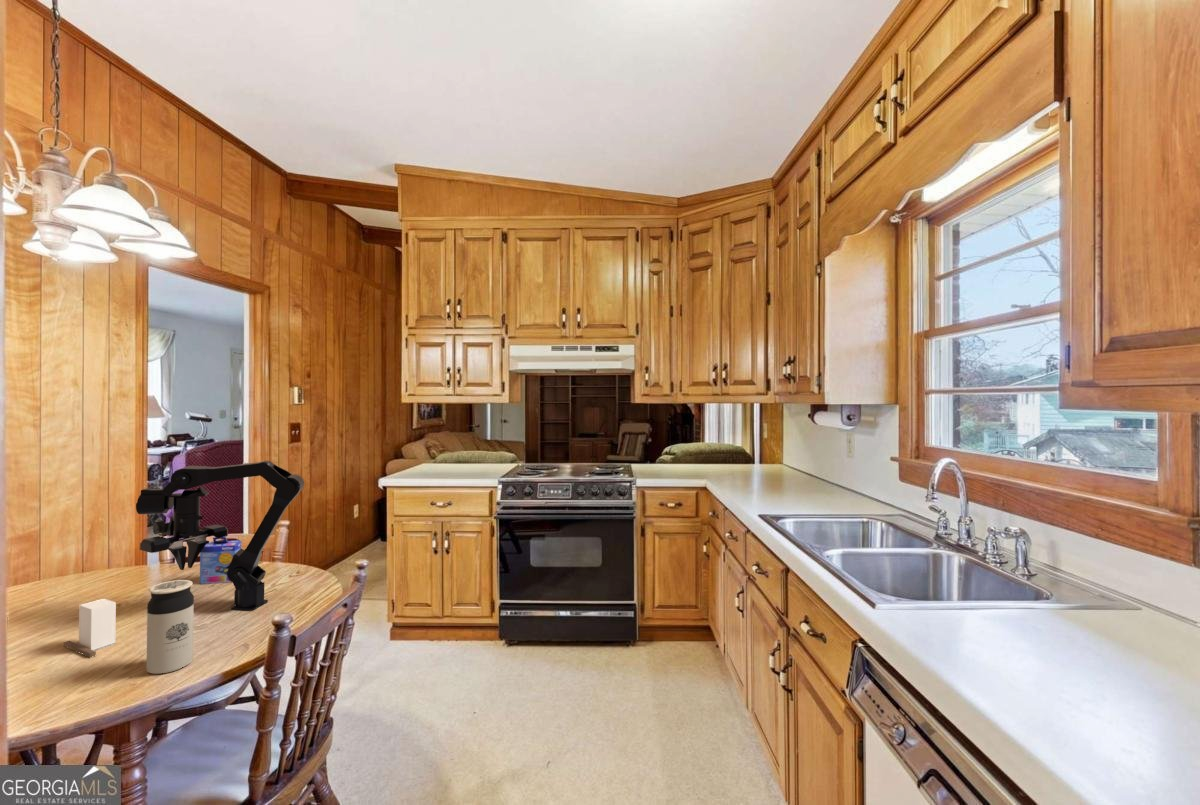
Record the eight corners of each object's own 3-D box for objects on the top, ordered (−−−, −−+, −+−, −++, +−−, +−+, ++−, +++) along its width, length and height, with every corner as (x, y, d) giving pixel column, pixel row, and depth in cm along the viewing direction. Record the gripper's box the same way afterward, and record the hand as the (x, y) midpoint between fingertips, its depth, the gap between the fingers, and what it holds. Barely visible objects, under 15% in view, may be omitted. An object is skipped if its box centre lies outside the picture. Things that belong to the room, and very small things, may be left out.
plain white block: (103, 638, 126) (103, 598, 126) (115, 643, 124) (115, 602, 124) (78, 646, 122) (79, 605, 122) (90, 652, 120) (91, 609, 120)
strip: (69, 644, 123) (69, 640, 123) (95, 656, 118) (95, 651, 118) (63, 646, 122) (63, 642, 122) (90, 657, 118) (90, 653, 118)
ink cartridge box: (198, 585, 162) (199, 539, 162) (205, 578, 167) (206, 534, 167) (235, 582, 165) (235, 537, 165) (241, 576, 170) (242, 532, 170)
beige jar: (145, 664, 115) (146, 584, 115) (190, 652, 121) (191, 576, 121) (147, 679, 110) (149, 595, 109) (195, 666, 115) (196, 586, 115)
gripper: (206, 503, 154) (205, 555, 154) (128, 515, 137) (127, 574, 137) (229, 507, 149) (228, 560, 150) (152, 521, 132) (151, 581, 133)
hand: (185, 568), depth 142 cm, fingers closed
